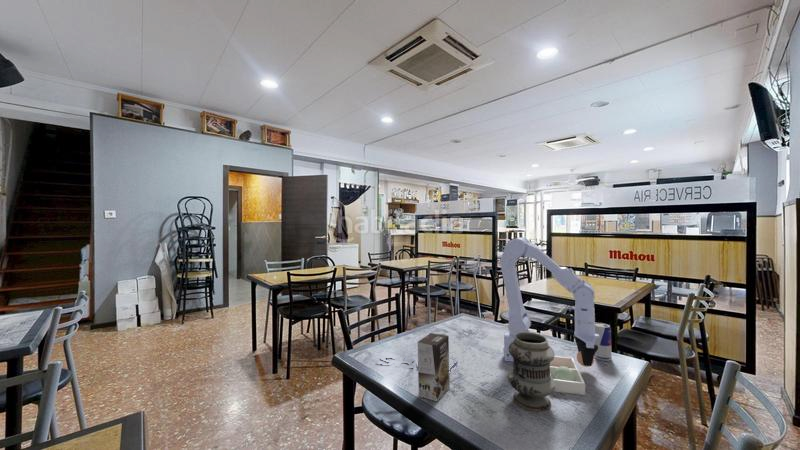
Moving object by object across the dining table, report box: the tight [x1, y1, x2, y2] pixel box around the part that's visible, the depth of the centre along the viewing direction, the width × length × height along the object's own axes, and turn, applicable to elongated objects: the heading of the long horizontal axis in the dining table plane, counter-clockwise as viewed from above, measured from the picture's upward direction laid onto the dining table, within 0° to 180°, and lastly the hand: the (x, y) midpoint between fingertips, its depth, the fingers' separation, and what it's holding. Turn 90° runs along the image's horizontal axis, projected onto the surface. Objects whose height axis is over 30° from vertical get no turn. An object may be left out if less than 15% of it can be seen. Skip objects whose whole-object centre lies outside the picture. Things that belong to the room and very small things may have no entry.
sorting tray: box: [550, 355, 586, 397], centre depth 99 cm, size 9×18×3 cm, turn 161°
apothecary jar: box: [508, 331, 556, 412], centre depth 88 cm, size 12×12×18 cm
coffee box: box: [417, 332, 451, 402], centre depth 94 cm, size 9×6×16 cm
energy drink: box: [594, 322, 612, 362], centre depth 113 cm, size 5×5×12 cm
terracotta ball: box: [576, 351, 595, 368], centre depth 104 cm, size 5×5×5 cm
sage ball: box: [555, 366, 574, 381], centre depth 95 cm, size 5×5×5 cm
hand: (585, 361), depth 104 cm, fingers closed on terracotta ball, 5 cm apart
